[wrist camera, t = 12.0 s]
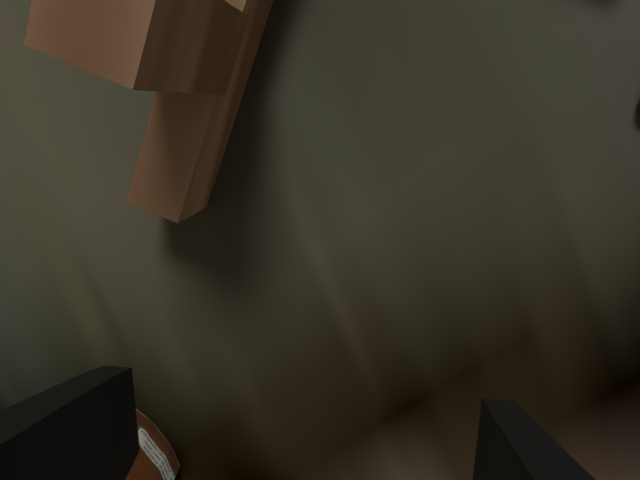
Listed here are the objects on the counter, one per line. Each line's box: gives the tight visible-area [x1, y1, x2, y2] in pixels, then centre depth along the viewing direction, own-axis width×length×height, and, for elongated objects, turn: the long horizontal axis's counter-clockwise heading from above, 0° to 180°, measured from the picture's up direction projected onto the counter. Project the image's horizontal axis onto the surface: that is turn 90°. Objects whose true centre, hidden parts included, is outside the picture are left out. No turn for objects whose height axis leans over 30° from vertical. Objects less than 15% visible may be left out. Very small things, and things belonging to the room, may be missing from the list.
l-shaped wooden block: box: [24, 0, 273, 223], centre depth 14 cm, size 2×12×9 cm, turn 159°
